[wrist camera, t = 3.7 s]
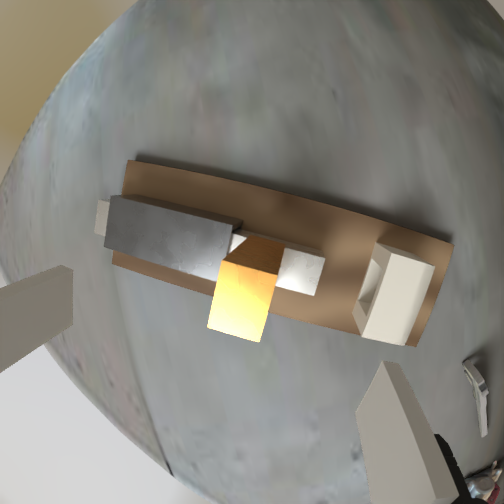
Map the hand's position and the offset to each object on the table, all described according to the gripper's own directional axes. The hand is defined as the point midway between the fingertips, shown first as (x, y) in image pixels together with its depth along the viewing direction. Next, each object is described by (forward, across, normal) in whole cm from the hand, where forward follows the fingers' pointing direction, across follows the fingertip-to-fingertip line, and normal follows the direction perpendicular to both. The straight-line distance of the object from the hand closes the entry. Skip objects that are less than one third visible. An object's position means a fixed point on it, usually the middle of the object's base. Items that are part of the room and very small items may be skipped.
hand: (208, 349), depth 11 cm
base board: (+21, +2, 0) cm, 21 cm away
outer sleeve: (+19, -9, 0) cm, 21 cm away
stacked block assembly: (+19, -6, 0) cm, 19 cm away
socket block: (+19, +13, 0) cm, 23 cm away
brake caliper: (+21, +54, -35) cm, 67 cm away
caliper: (+21, +37, -14) cm, 44 cm away
